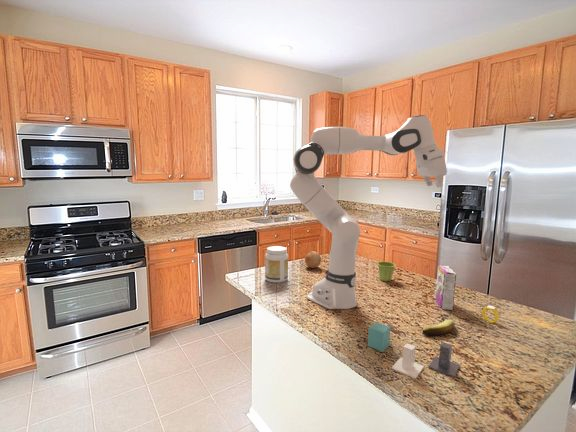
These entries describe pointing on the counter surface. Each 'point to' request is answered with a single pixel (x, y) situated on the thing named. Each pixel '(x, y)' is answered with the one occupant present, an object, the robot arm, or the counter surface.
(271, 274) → the supplement tub
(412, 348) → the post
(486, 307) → the watch
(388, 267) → the plant pot
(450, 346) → the post
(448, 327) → the banana
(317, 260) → the brown round ball
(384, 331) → the teal rectangular block
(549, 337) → the counter surface
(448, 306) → the candy bar box
